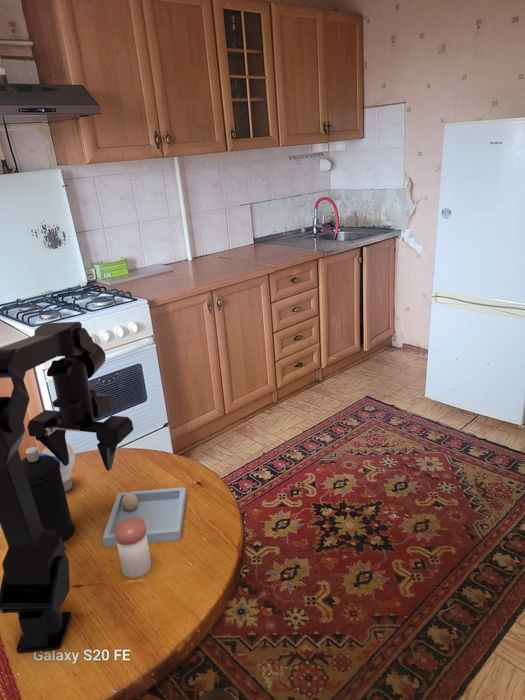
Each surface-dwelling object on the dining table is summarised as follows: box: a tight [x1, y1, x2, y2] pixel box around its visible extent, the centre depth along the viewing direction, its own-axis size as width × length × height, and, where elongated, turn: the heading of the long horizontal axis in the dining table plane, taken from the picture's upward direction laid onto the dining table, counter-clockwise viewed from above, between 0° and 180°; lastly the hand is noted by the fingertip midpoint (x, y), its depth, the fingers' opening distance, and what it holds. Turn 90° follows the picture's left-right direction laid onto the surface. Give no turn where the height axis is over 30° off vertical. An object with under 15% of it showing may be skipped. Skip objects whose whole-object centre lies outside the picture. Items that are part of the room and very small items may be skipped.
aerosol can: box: [21, 446, 75, 543], centre depth 99 cm, size 8×8×20 cm
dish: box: [102, 486, 187, 548], centre depth 105 cm, size 14×14×2 cm
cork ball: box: [122, 493, 138, 510], centre depth 109 cm, size 3×3×3 cm
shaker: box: [114, 517, 152, 581], centre depth 92 cm, size 5×5×9 cm
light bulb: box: [41, 442, 76, 493], centre depth 115 cm, size 7×7×12 cm
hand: (87, 467), depth 100 cm, fingers open, 9 cm apart
